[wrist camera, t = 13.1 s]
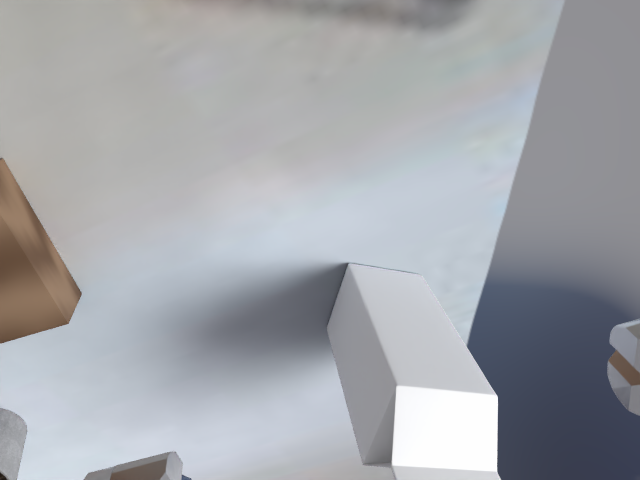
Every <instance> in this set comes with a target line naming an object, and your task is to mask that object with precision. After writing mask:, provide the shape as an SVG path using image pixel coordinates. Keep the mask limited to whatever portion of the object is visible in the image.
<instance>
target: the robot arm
mask: <svg viewBox="0 0 640 480" xmlns="http://www.w3.org/2000/svg"><path fill="white" fill-rule="evenodd" d="M610 344H611V345H613V347H615V348H616V351H615V352H614V354H613V355H612V356H611V358H610V359H609V360H608V377H609V380H610V383H611V386H612V389H613V391H614V392H615V394H616V396H617V397H618V399H619V400H620V401H621V403H622V404H623V405H624V406H625V407H626V408H627V410H629V411H630V412H633V413H635V414H637V415H640V319H637V320H634V321H630V322H627V323H624V324H620V325H617V326H615V327H614V328H613V330H612V331H611V335H610ZM182 465H183V463H182V461H181V459H180V458H179V456H178V455H177V453H176V452H167V453H163V454H160V455H156V456H152V457H148V458H144V459H140V460H136V461H132V462H128V463H124V464H120V465H116V466H114V467H110V468H106V469H102V470H98V471H95V472H91V473H88V474H87V476H86V477H85V479H84V480H192V479H191V478H189V477H186V476H184V475H182Z"/></svg>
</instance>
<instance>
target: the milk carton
mask: <svg viewBox="0 0 640 480" xmlns="http://www.w3.org/2000/svg"><path fill="white" fill-rule="evenodd" d="M327 332H328V336H329V340H330V343H331V347H332V351H333V355H334V359H335V362H336V366H337V370H338V374H339V377H340V381H341V385H342V389H343V392H344V396H345V400H346V404H347V407H348V411H349V415H350V419H351V423H352V426H353V430H354V434H355V438H356V441H357V445H358V449H359V453H360V456H361V460H362V463H363V465H365V466H376V467H388V468H391V469H392V472H393V476H394V479H395V480H501V479H500V477H499V475H498V473H497V411H498V410H497V409H498V397H497V395H496V394H495V392H494V391H493V389H492V387H491V386H490V384H489V383H488V381H487V379H486V378H485V376H484V375H483V373H482V371H481V370H480V368H479V367H478V365H477V363H476V362H475V360H474V358H473V357H472V355H471V354H470V352H469V350H468V349H467V347H466V345H465V344H464V342H463V341H462V339H461V337H460V336H459V334H458V333H457V331H456V329H455V328H454V326H453V324H452V323H451V321H450V320H449V318H448V316H447V315H446V313H445V312H444V310H443V308H442V307H441V305H440V303H439V302H438V300H437V299H436V297H435V295H434V294H433V292H432V291H431V289H430V287H429V286H428V284H427V282H426V281H425V279H424V278H423V276H422V275H419V274H414V273H408V272H402V271H395V270H389V269H383V268H377V267H371V266H365V265H358V264H351V263H349V264H348V266H347V269H346V272H345V275H344V278H343V281H342V284H341V287H340V290H339V293H338V296H337V299H336V302H335V305H334V308H333V311H332V314H331V317H330V320H329V323H328V326H327Z"/></svg>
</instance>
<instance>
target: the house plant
mask: <svg viewBox="0 0 640 480" xmlns="http://www.w3.org/2000/svg"><path fill="white" fill-rule="evenodd" d="M26 434H27V426H26V424H25V422H24V420H23V419H22V418H21V417H19V416H18V415H17V414H15V413H13V412H11V411H8V410H5V409H0V480H17V476H18V471H19V467H20V462H21V457H22V453H23V448H24V443H25V439H26Z"/></svg>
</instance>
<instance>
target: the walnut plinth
mask: <svg viewBox="0 0 640 480" xmlns="http://www.w3.org/2000/svg"><path fill="white" fill-rule="evenodd" d="M81 295H82V293H81V292H80V290H79V288H78V286H77V285H76V283H75V281H74V280H73V278H72V276H71V274H70V273H69V271H68V269H67V268H66V266H65V264H64V262H63V261H62V259H61V257H60V256H59V254H58V252H57V250H56V249H55V247H54V245H53V244H52V242H51V240H50V238H49V237H48V235H47V233H46V232H45V230H44V228H43V226H42V225H41V223H40V221H39V220H38V218H37V216H36V214H35V213H34V211H33V209H32V207H31V206H30V204H29V202H28V201H27V199H26V197H25V195H24V194H23V192H22V190H21V189H20V187H19V185H18V183H17V182H16V180H15V178H14V177H13V175H12V173H11V171H10V170H9V168H8V166H7V165H6V163H5V161H4V159H3V158H2V159H0V343H4V342H7V341H11V340H14V339H18V338H21V337H25V336H28V335H31V334H35V333H38V332H42V331H45V330H49V329H52V328H56V327H59V326H62V325H66V324H69V321H70V319H71V317H72V315H73V312H74V310H75V308H76V306H77V304H78V301H79V299H80V297H81Z"/></svg>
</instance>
